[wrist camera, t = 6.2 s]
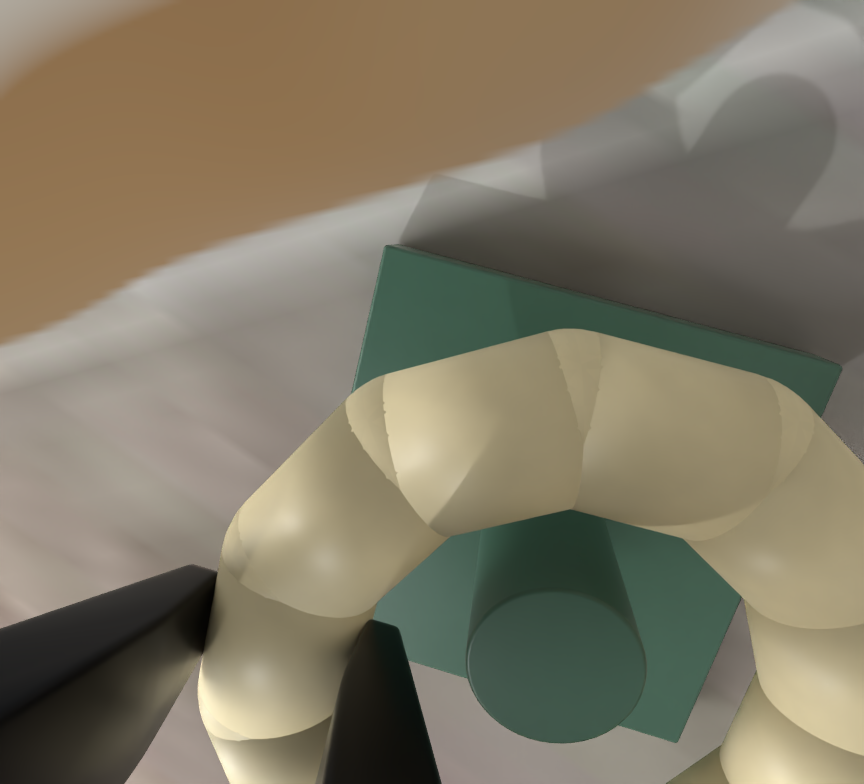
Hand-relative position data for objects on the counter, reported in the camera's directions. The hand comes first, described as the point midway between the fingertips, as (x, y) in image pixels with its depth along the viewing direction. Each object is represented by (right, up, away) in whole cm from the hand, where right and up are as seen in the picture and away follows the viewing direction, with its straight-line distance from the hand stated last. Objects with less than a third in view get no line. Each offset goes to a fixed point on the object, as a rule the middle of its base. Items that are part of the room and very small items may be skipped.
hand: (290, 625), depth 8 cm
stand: (+4, +1, +6) cm, 8 cm away
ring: (+3, -1, 0) cm, 4 cm away
